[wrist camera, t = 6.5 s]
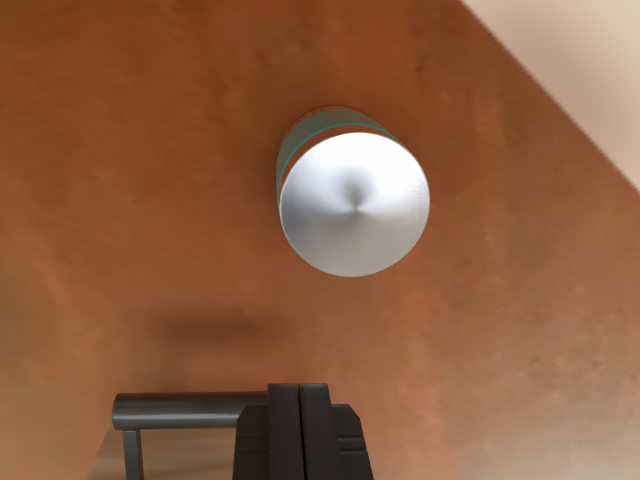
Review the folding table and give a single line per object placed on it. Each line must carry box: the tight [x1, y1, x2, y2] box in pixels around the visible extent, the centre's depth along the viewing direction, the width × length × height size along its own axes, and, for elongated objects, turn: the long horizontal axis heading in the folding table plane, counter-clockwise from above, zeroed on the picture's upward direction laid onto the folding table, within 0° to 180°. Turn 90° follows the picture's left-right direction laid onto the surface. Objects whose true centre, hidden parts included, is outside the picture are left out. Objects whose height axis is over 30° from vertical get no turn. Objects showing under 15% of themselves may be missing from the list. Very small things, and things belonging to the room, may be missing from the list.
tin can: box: [276, 106, 430, 277], centre depth 21 cm, size 5×5×7 cm
